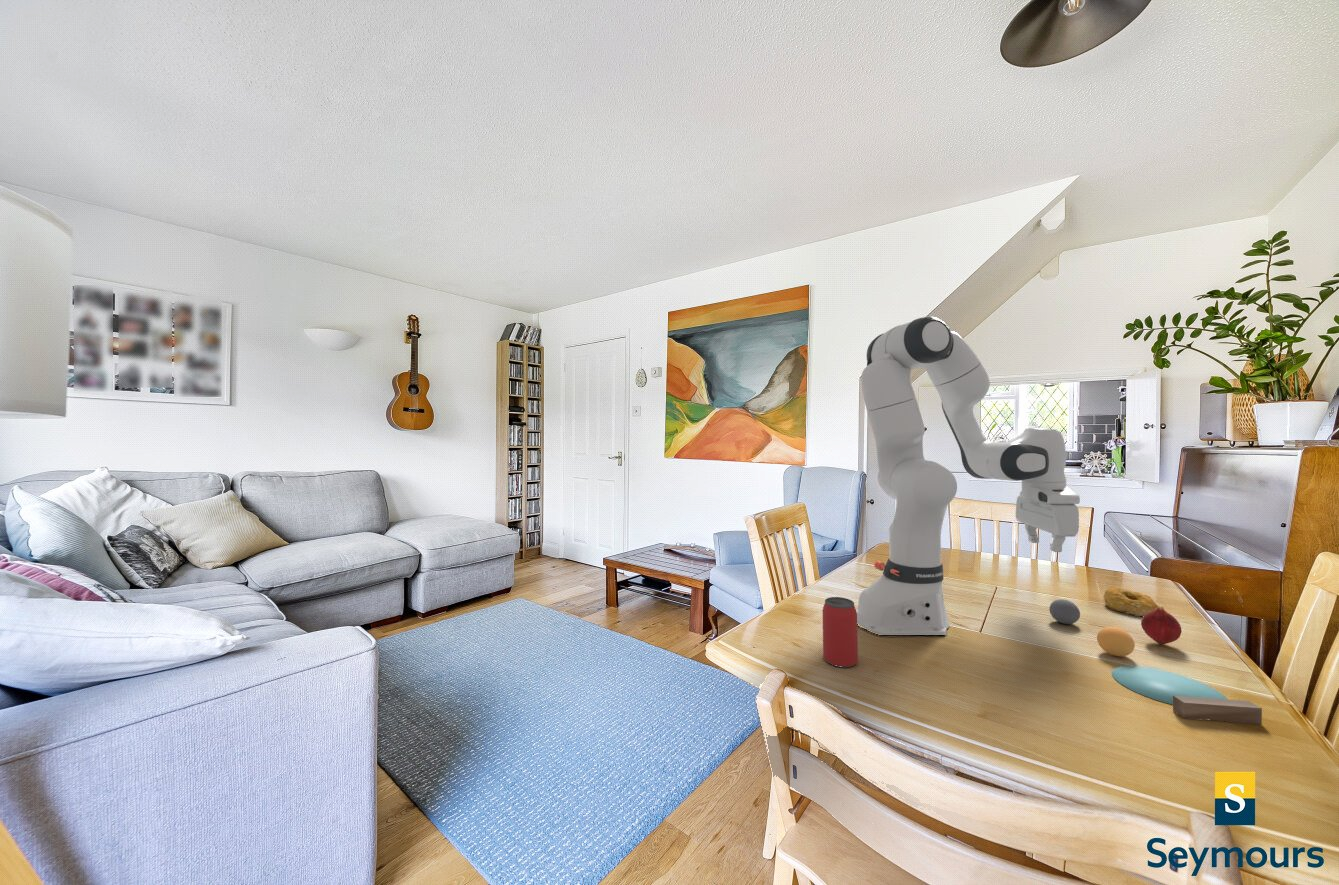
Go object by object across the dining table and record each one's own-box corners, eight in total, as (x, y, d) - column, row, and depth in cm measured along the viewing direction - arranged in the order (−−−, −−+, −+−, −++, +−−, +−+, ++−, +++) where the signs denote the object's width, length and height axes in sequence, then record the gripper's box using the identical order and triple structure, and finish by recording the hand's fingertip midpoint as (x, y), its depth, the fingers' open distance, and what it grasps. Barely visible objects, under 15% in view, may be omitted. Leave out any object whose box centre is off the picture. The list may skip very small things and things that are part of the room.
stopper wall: (1261, 724, 72) (1261, 708, 72) (1184, 718, 74) (1184, 702, 74) (1248, 716, 74) (1248, 700, 74) (1173, 711, 76) (1173, 695, 76)
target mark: (1184, 714, 75) (1184, 713, 75) (1091, 671, 88) (1091, 670, 88) (1253, 704, 77) (1253, 703, 77) (1152, 663, 91) (1152, 662, 91)
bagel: (1116, 615, 114) (1116, 596, 114) (1095, 601, 124) (1096, 583, 124) (1171, 621, 110) (1171, 601, 110) (1144, 606, 121) (1145, 587, 121)
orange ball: (1119, 662, 91) (1119, 634, 91) (1089, 650, 97) (1089, 623, 97) (1142, 660, 92) (1142, 632, 92) (1111, 647, 98) (1111, 621, 97)
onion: (1189, 651, 95) (1189, 612, 95) (1156, 649, 96) (1155, 610, 96) (1165, 639, 101) (1165, 602, 101) (1134, 637, 102) (1134, 600, 102)
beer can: (832, 650, 99) (831, 593, 99) (863, 660, 94) (862, 601, 94) (817, 661, 94) (816, 601, 94) (848, 672, 90) (848, 610, 90)
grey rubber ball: (1066, 629, 107) (1066, 605, 107) (1043, 619, 112) (1043, 596, 112) (1086, 626, 108) (1086, 603, 108) (1062, 617, 113) (1062, 595, 113)
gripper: (1008, 487, 129) (1009, 537, 130) (1053, 497, 109) (1054, 557, 110) (1034, 487, 128) (1034, 537, 128) (1085, 497, 108) (1085, 557, 108)
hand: (1044, 546), depth 119 cm, fingers open, 8 cm apart
